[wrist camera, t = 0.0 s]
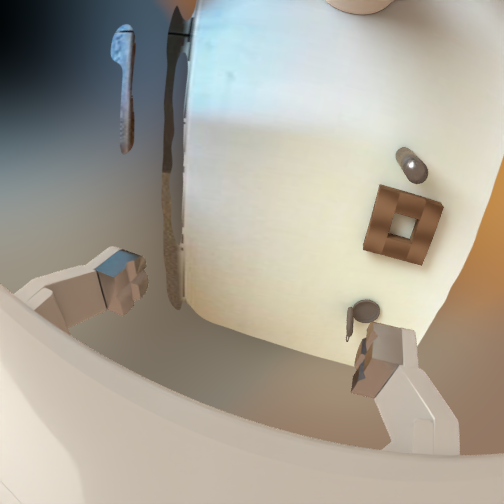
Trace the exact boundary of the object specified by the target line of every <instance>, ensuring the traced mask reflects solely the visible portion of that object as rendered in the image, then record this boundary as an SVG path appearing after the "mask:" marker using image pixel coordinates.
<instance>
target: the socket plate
mask: <svg viewBox="0 0 504 504" xmlns="http://www.w3.org/2000/svg"><path fill="white" fill-rule="evenodd" d="M443 208H444V207H443V206H442V204H441V203H440V202H437V201H434V200H431V199H428V198H425V197H422V196H418V195H415V194H412V193H408V192H405V191H402V190H398V189H395V188H391V187H388V186H384V185H379V189H378V193H377V197H376V201H375V204H374V208H373V212H372V216H371V219H370V223H369V226H368V230H367V233H366V237H365V240H364V243H363V250H366V251H370V252H373V253H377V254H381V255H385V256H388V257H392V258H396V259H400V260H403V261H407V262H411V263H414V264H418V265H421V266H422V264H423V261H424V259H425V256H426V254H427V252H428V249H429V246H430V244H431V241H432V239H433V236H434V233H435V231H436V228H437V225H438V222H439V219H440V216H441V214H442V211H443ZM394 213H398V214H402V215H405V216H409V217H412V218H415V219H417V220H416V223H415V226H414V229H413V232H412V235H411V237H410V239H408V238H405V237H401V236H398V235H394V234H390V233H388V232H389V229H390V226H391V223H392V219H393V216H394Z"/></svg>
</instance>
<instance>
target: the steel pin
mask: <svg viewBox="0 0 504 504" xmlns="http://www.w3.org/2000/svg"><path fill="white" fill-rule="evenodd" d="M396 160H397V162H398V163H399V165H400V166H401V168H402V170H403V171H404V173H405V175H406V176H407V178H408V179H409V181H411V182H412V183H415V184H420V183H423V182H424V181H425V180H426V178H427V176H428V169H427V167H426V165H425V164H424V163H423V162H422V161H421V160H420V159H419V158H418V157H417V156H416V155H415V154H414V153H413V152H412V151H411V150H410V149H409V148H406V147H402V148H400V149H399V150H398V151H397V153H396Z"/></svg>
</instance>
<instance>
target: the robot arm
mask: <svg viewBox="0 0 504 504" xmlns="http://www.w3.org/2000/svg"><path fill="white" fill-rule="evenodd" d="M325 1H326V2H327V3H329V4H330V5H332V6H333V7H335V8H337V9H339V10H341V11H344V12H348V13H352V14H371V13H375V12H378V11H380V10H382V9H384V8H385V7H387V6H388V5H389V4H390V3H391V2H392V1H395V0H325ZM145 268H146V260H145V258H144V257H143V256H140V255H138V254H135V253H132V252H129V251H127V250H124V249H120V248H118V247H115V246H111V247H109V248H108V249H106V250H105V251H104V252H102V253H101V254H100V255H98V256H97V257H96V258H94V259H93V260H92V261H90V262H89V263H88V264H86V265H85V266H84V265H80V266H76V267H72V268H69V269H65V270H62V271H58V272H55V273H51V274H48V275H45V276H41V277H38V278H34V279H32V280H31V281H30V282H29V283H27V284H26V285H25V286H24V287H22V288H21V289H20V290H19V291H17V292H16V293H15V294H14V295H13V294H12V293H11V292H10V291H8V290H7V289H6V288H5V287H3V286H2V285H1V284H0V504H504V453H502V454H489V455H460V447H459V424H458V420H457V419H456V417H455V416H454V414H453V413H452V411H451V410H450V408H449V407H448V405H447V404H446V402H445V401H444V399H443V398H442V397H441V395H440V393H439V392H438V391H437V389H436V388H435V386H434V385H433V384H432V382H431V380H430V379H429V378H428V376H427V375H426V373H425V372H424V371H423V370H422V369H419V366H418V365H419V364H418V353H417V343H416V335H415V332H414V330H410V329H405V328H398V327H394V326H390V325H385V324H381V323H377V322H371V323H370V325H369V327H368V329H367V335H366V338H364V339H362V341H361V343H360V345H359V348H358V351H357V354H356V359H355V365H354V366H355V368H356V370H357V371H356V373H355V374H354V376H353V381H352V389H351V393H353V394H358V395H362V396H366V397H371V398H375V399H374V400H375V402H376V405H377V407H378V409H379V412H380V414H381V416H382V419H383V421H384V423H385V426H386V428H387V430H388V433H389V435H390V438H391V440H392V442H391V443H389V445H387V446H386V447H385V448H383V449H382V450H375V449H368V448H361V447H356V446H350V445H344V444H339V443H334V442H329V441H324V440H320V439H315V438H311V437H307V436H303V435H299V434H295V433H291V432H287V431H283V430H280V429H277V428H273V427H270V426H266V425H263V424H260V423H257V422H253V421H250V420H247V419H244V418H241V417H238V416H235V415H232V414H230V413H227V412H224V411H222V410H219V409H216V408H213V407H211V406H208V405H206V404H203V403H201V402H198V401H196V400H193V399H191V398H188V397H186V396H184V395H181V394H179V393H177V392H175V391H172V390H170V389H168V388H166V387H163V386H161V385H159V384H157V383H155V382H153V381H151V380H149V379H147V378H144V377H143V376H141V375H139V374H137V373H135V372H133V371H131V370H129V369H127V368H125V367H123V366H121V365H119V364H118V363H116V362H114V361H112V360H110V359H108V358H107V357H105V356H103V355H102V354H100V353H98V352H96V351H95V350H93V349H91V348H90V347H88V346H86V345H85V344H83V343H81V342H80V341H78V340H77V339H75V338H73V337H72V336H71V335H70V333H69V330H68V328H70V327H72V326H74V325H76V324H78V323H80V322H83V321H85V320H87V319H89V318H91V317H94V316H96V315H98V314H100V313H102V312H104V311H106V310H107V309H108V310H110V311H112V312H114V313H117V314H119V315H121V316H125V315H126V314H127V312H128V311H129V310H130V309H131V308H132V307H133V306H134V301H135V300H138V299H141V298H142V297H143V295H144V294H145V293H146V291H147V288H148V283H149V280H148V275H147V274H146V272H145V271H144V269H145Z"/></svg>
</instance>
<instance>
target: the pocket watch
mask: <svg viewBox="0 0 504 504" xmlns="http://www.w3.org/2000/svg"><path fill="white" fill-rule="evenodd" d="M379 313H380V309H379V306H378V305H377V304H376V303H375V302H373V301H371V300H362V301H359V302H357V303H356V304H355V305H354V306H353V308H352V307H349V308H348V311H347V335H346V342H348V340H349V337H351V335H352V333H353V317H354V318H355V319H356V320H357V321H359V322H362V323H369V322H372V321H374V320H376V319H377V318H378V316H379ZM347 336H348V340H347Z"/></svg>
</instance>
